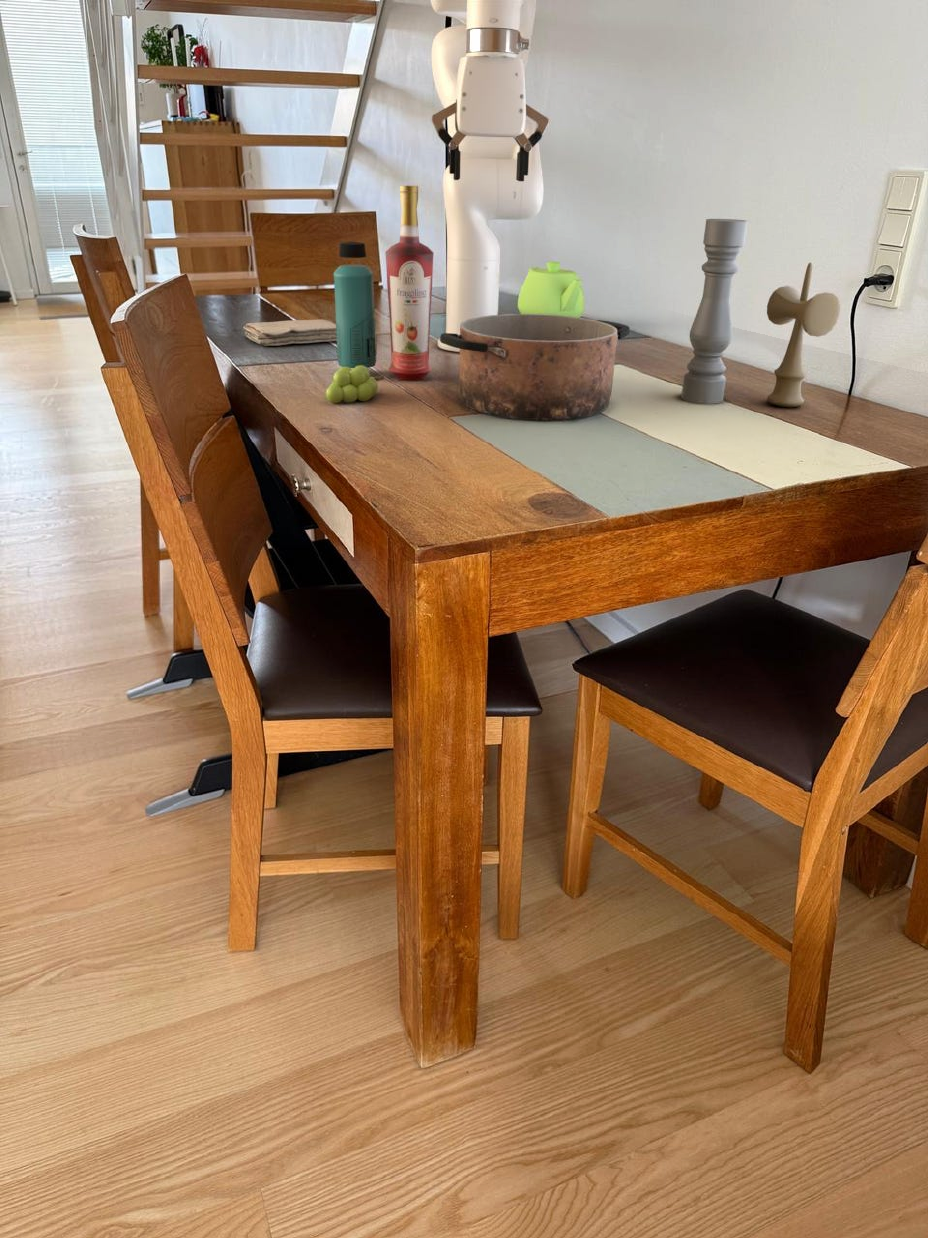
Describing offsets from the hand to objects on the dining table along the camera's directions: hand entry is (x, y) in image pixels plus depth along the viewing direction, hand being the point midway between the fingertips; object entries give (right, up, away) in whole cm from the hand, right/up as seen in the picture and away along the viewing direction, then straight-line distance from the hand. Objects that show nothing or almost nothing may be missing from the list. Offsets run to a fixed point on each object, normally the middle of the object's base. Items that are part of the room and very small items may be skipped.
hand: (488, 180), depth 138 cm
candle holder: (+33, -33, +2) cm, 46 cm away
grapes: (-20, -33, -3) cm, 39 cm away
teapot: (+15, -3, +58) cm, 60 cm away
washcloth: (-36, -13, +37) cm, 53 cm away
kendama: (+44, -34, -1) cm, 56 cm away
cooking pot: (+7, -34, -2) cm, 35 cm away
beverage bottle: (-21, -26, +12) cm, 36 cm away
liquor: (-12, -27, +10) cm, 32 cm away
